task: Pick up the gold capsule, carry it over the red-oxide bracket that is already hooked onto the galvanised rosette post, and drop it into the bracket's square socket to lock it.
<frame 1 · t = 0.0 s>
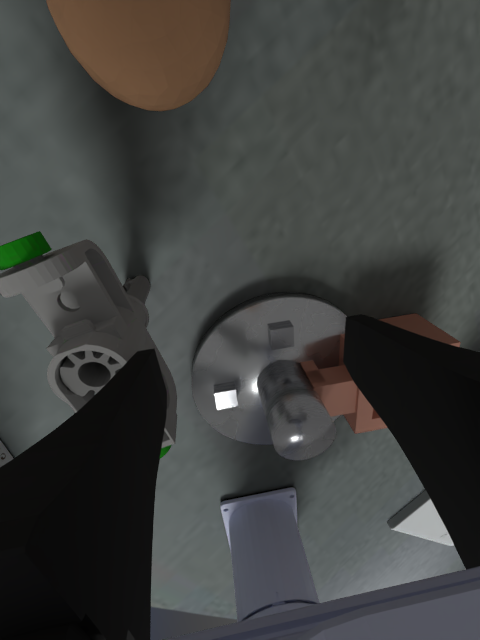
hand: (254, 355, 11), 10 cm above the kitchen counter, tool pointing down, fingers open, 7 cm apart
external hard drive: (436, 507, 39), on the kitchen counter
mechanical component: (138, 285, 20), on the kitchen counter
bracket: (371, 355, 25), on the kitchen counter
egg: (156, 44, 15), on the kitchen counter
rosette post: (278, 371, 24), on the kitchen counter
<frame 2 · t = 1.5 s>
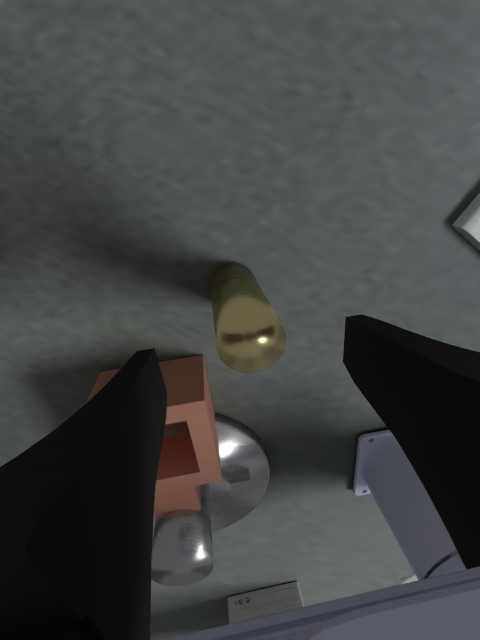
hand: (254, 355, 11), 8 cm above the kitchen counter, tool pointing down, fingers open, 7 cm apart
supplement box: (265, 601, 38), on the kitchen counter
bracket: (163, 401, 21), on the kitchen counter
gold capsule: (232, 285, 18), on the kitchen counter
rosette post: (185, 473, 25), on the kitchen counter
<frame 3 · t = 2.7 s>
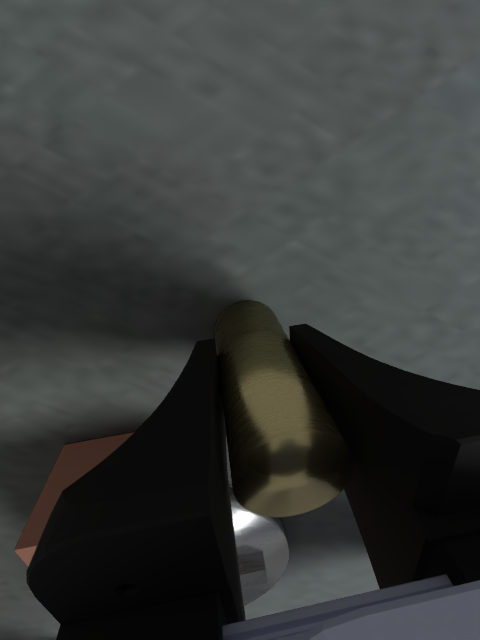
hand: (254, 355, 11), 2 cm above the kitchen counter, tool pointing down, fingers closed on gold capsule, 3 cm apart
bracket: (152, 476, 16), on the kitchen counter
gold capsule: (246, 330, 13), on the kitchen counter, touching gripper
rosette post: (181, 553, 20), on the kitchen counter
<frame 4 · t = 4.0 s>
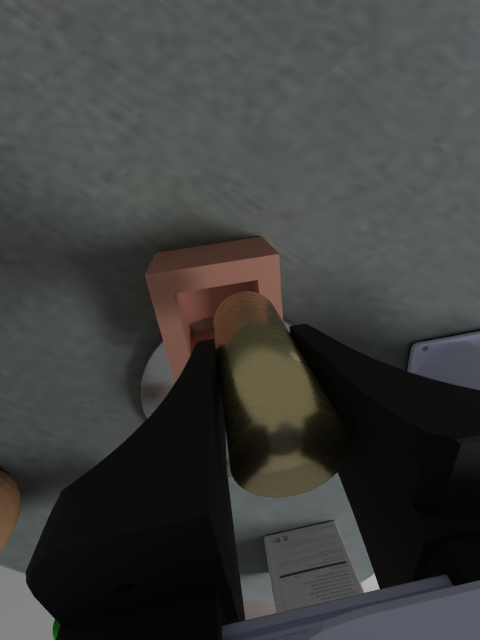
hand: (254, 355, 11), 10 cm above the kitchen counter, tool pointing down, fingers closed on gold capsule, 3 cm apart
supplement box: (300, 544, 37), on the kitchen counter
bracket: (217, 293, 21), on the kitchen counter
gold capsule: (245, 321, 13), point 8 cm above the kitchen counter, touching gripper
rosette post: (232, 384, 24), on the kitchen counter
when the fingers open (5 cm above the kitchen counter, at t = 5.2 s): gold capsule drops 2 cm, resting on bracket.
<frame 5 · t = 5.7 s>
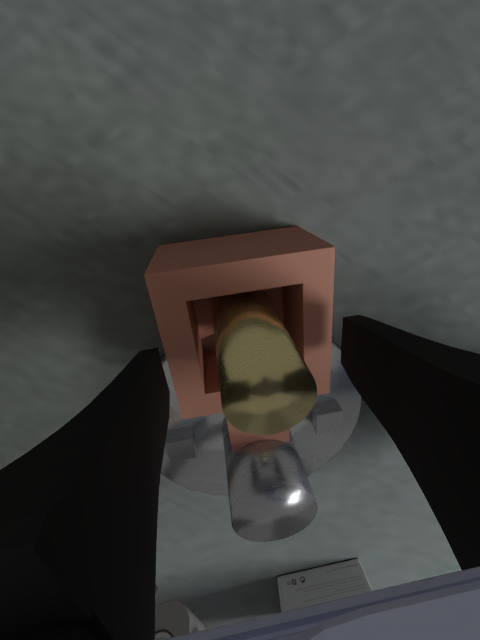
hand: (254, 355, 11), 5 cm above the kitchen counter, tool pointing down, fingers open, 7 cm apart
supplement box: (317, 583, 33), on the kitchen counter
mechanical component: (147, 514, 23), on the kitchen counter
bracket: (236, 299, 16), on the kitchen counter
gold capsule: (239, 303, 15), point 1 cm above the kitchen counter, touching bracket
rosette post: (250, 410, 20), on the kitchen counter
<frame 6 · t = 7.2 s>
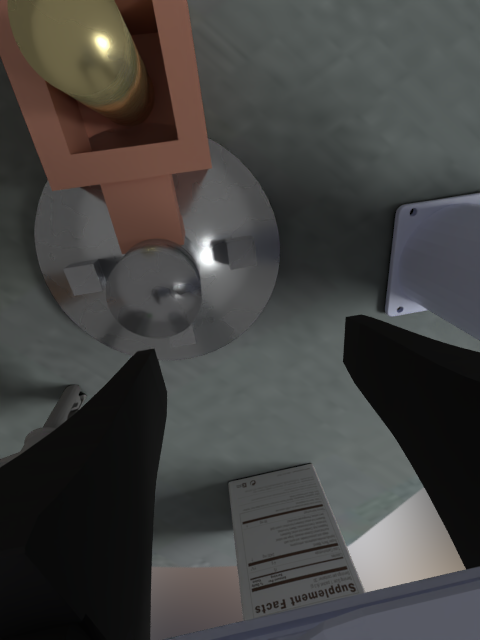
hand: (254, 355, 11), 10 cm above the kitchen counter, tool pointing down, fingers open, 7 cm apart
supplement box: (274, 495, 32), on the kitchen counter
mechanical component: (76, 391, 23), on the kitchen counter
bracket: (130, 103, 15), on the kitchen counter
gold capsule: (123, 91, 14), point 1 cm above the kitchen counter, touching bracket, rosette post
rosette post: (167, 257, 19), on the kitchen counter
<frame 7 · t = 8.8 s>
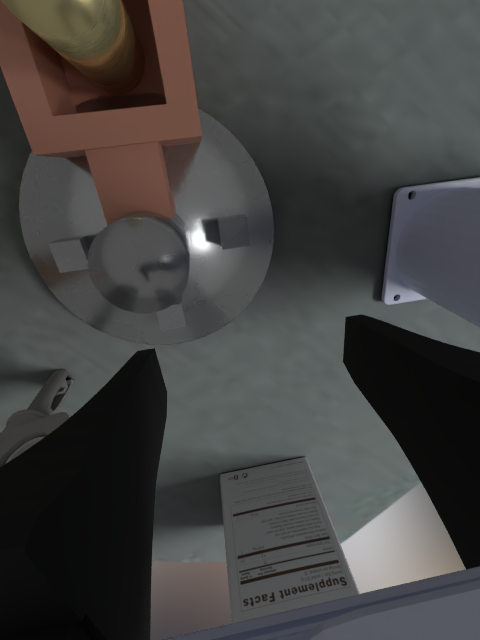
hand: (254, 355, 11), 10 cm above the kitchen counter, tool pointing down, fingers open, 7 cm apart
supplement box: (266, 489, 31), on the kitchen counter
mechanical component: (64, 376, 22), on the kitchen counter
bracket: (119, 72, 15), on the kitchen counter
gold capsule: (112, 56, 13), point 1 cm above the kitchen counter, touching bracket, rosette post
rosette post: (157, 236, 18), on the kitchen counter
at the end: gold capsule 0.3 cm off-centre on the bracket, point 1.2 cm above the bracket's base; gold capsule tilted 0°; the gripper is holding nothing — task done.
